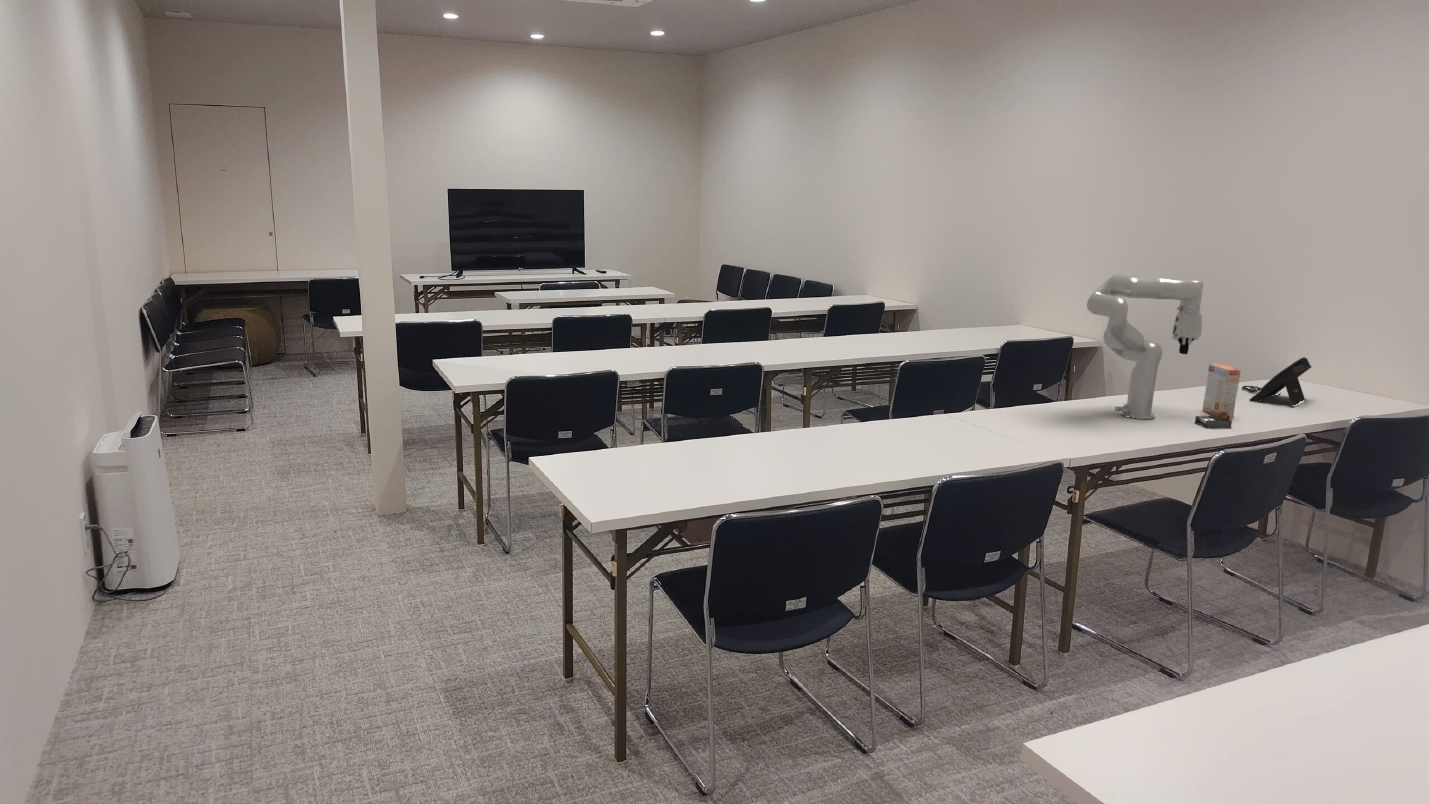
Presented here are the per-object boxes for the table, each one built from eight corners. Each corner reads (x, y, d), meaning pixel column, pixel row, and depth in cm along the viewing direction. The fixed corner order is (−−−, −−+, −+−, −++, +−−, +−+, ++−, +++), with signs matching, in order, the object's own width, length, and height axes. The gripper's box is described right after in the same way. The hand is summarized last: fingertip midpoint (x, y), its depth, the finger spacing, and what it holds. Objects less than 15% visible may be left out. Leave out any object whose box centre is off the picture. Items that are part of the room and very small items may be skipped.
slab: (1216, 419, 354) (1218, 412, 353) (1209, 416, 358) (1210, 409, 357) (1226, 419, 354) (1227, 412, 353) (1218, 416, 359) (1220, 409, 358)
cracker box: (1233, 419, 367) (1241, 369, 362) (1218, 419, 367) (1226, 369, 362) (1215, 411, 380) (1223, 362, 375) (1201, 410, 380) (1208, 362, 375)
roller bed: (1207, 428, 352) (1208, 416, 351) (1194, 423, 360) (1196, 411, 359) (1230, 428, 353) (1232, 415, 352) (1217, 422, 361) (1219, 410, 360)
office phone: (1245, 388, 427) (1251, 346, 422) (1313, 399, 406) (1321, 355, 401) (1221, 396, 408) (1227, 353, 403) (1291, 408, 387) (1299, 363, 382)
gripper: (1177, 311, 363) (1171, 355, 367) (1212, 311, 364) (1205, 355, 369) (1166, 308, 370) (1161, 352, 375) (1200, 308, 372) (1194, 351, 376)
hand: (1183, 353), depth 372 cm, fingers closed
